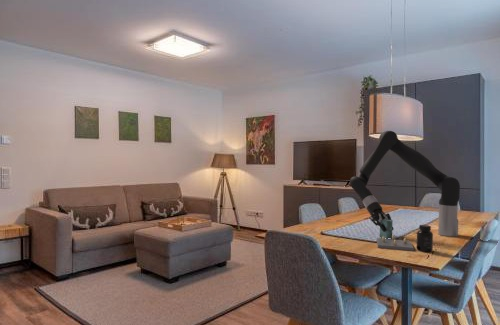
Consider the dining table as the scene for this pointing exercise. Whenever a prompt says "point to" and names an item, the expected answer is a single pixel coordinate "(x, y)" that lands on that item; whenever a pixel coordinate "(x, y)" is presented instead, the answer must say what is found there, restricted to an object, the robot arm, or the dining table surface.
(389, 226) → the teal block
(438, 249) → the dining table surface
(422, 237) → the supplement bottle
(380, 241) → the base plate
